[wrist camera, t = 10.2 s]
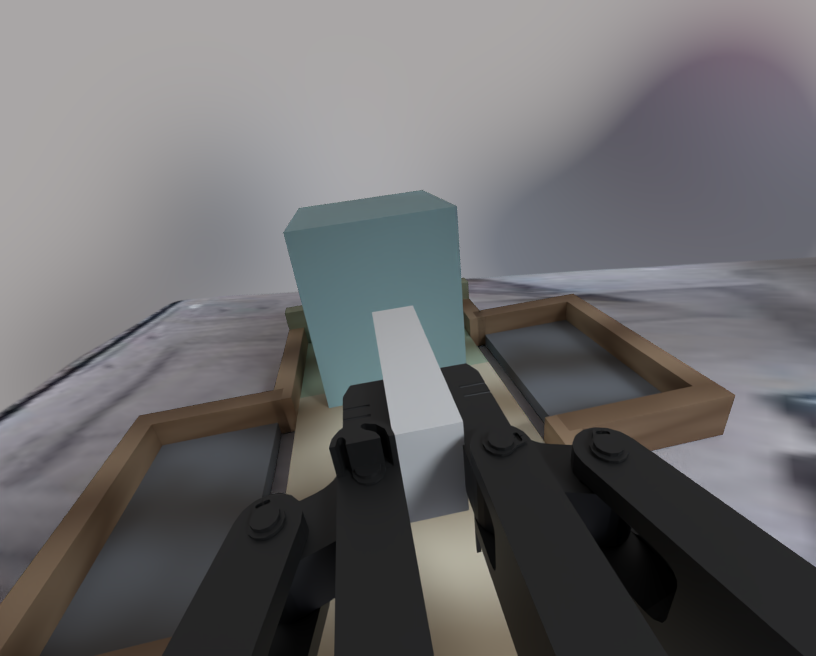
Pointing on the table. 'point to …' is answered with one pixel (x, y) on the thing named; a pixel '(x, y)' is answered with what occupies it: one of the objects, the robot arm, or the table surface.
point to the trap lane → (313, 470)
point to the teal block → (376, 280)
